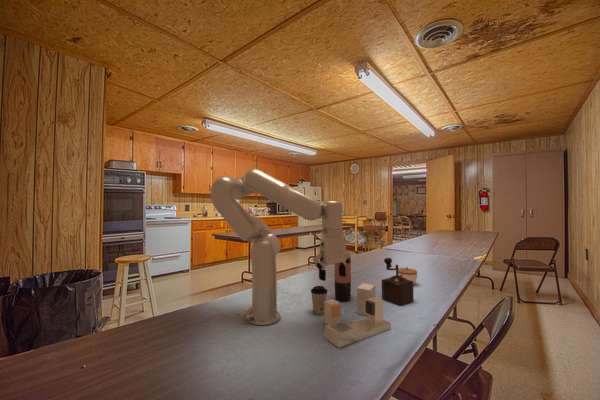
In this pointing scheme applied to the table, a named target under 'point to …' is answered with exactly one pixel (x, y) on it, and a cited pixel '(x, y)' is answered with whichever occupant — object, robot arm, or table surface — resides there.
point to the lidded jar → (408, 274)
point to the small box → (364, 296)
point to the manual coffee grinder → (396, 287)
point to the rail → (358, 326)
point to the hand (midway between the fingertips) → (332, 278)
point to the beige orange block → (331, 311)
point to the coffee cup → (318, 299)
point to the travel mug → (343, 283)
